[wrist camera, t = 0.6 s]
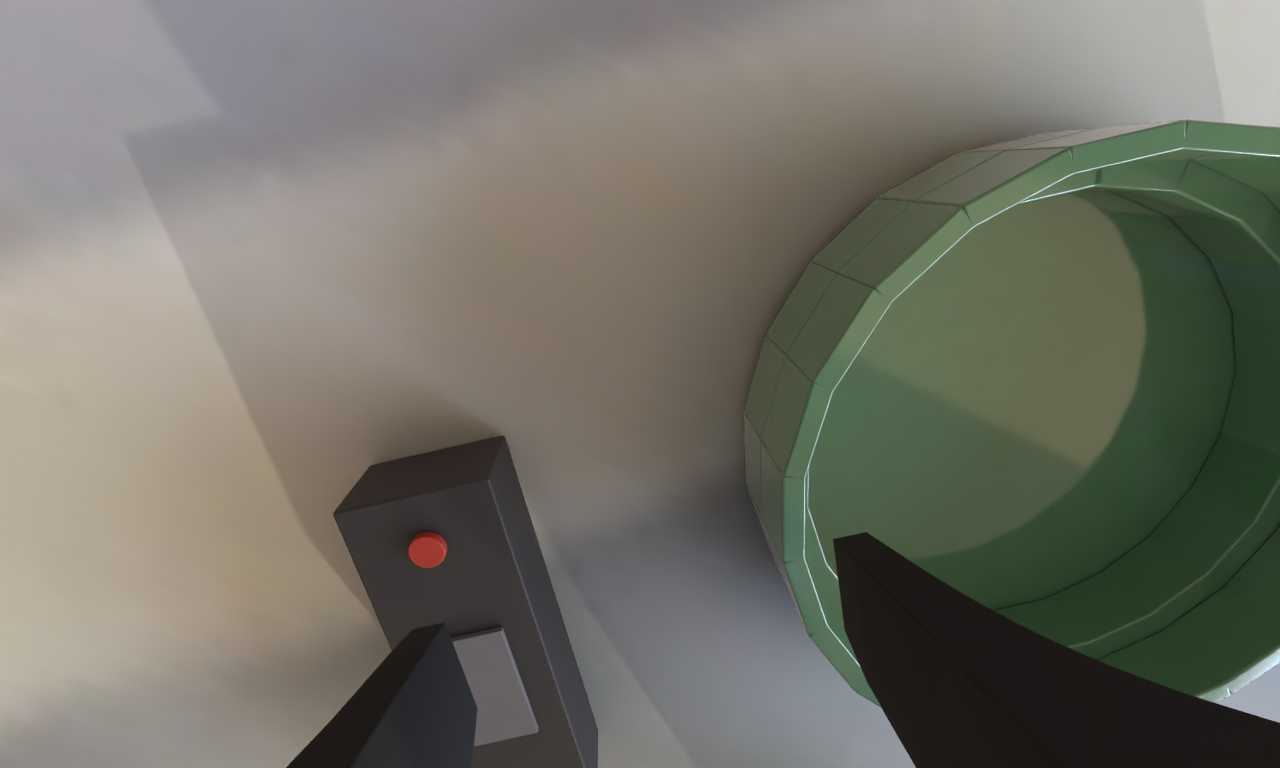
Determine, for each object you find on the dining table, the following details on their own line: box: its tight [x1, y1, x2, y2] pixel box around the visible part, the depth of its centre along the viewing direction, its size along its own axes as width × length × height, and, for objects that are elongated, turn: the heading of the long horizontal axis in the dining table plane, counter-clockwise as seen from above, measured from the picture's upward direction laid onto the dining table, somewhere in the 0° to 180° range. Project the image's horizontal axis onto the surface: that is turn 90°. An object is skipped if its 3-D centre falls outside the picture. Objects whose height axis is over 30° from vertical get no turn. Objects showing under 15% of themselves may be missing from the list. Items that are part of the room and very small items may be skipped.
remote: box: [333, 436, 598, 768], centre depth 20 cm, size 12×4×3 cm, turn 12°
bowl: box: [744, 120, 1280, 707], centre depth 18 cm, size 17×17×5 cm
